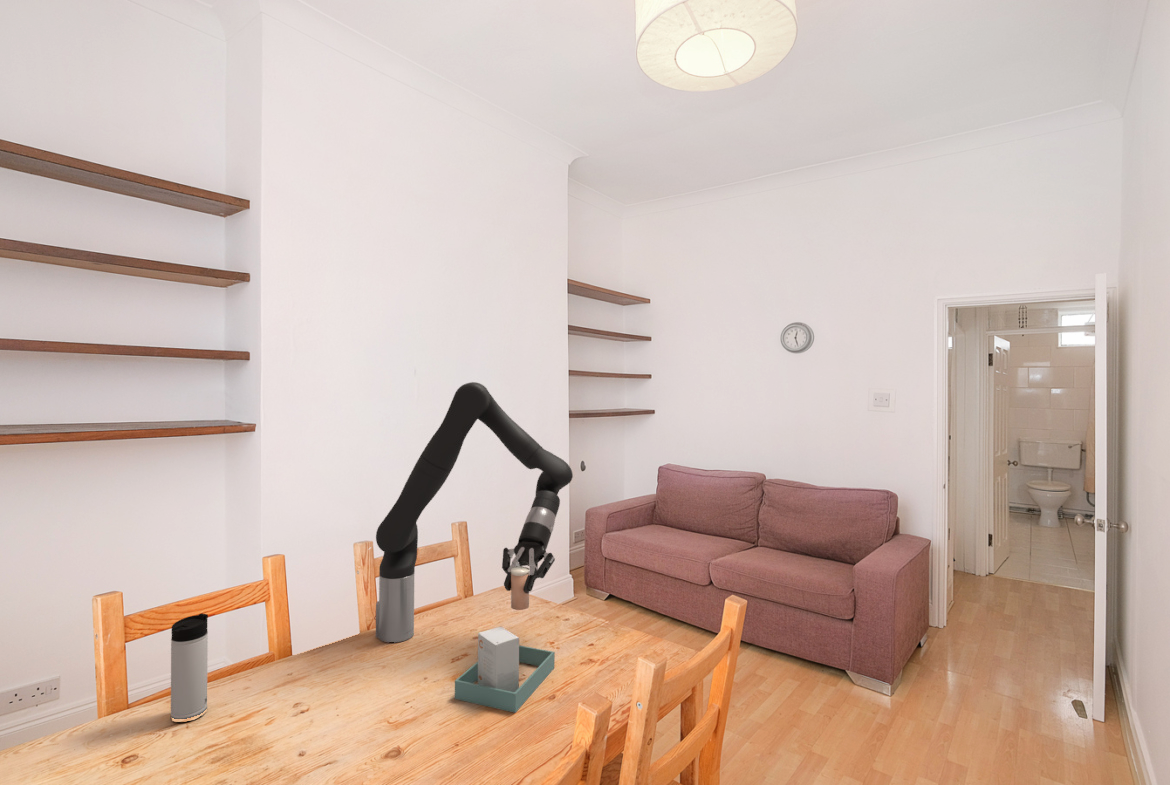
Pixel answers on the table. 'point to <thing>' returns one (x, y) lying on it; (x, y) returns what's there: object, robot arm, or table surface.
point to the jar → (519, 588)
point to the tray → (504, 698)
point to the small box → (498, 659)
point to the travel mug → (189, 666)
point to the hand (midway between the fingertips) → (516, 590)
